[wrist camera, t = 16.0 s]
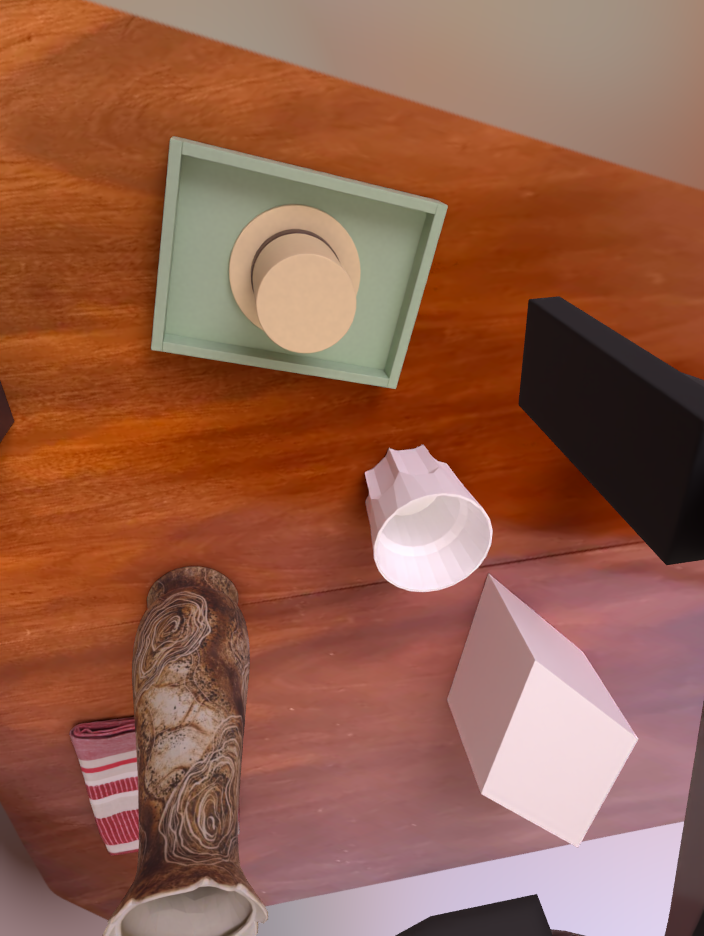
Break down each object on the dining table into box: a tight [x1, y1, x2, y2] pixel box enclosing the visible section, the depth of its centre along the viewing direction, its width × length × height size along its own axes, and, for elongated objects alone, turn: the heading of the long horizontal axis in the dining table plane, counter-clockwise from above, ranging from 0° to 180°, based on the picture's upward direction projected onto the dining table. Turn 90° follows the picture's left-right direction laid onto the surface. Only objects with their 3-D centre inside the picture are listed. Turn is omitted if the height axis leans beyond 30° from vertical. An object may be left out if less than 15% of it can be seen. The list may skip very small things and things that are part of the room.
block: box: [447, 573, 638, 847], centre depth 73 cm, size 18×35×12 cm, turn 17°
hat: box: [229, 204, 361, 353], centre depth 46 cm, size 10×10×9 cm
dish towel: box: [69, 717, 240, 855], centre depth 76 cm, size 17×23×3 cm
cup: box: [365, 445, 493, 592], centre depth 57 cm, size 10×10×10 cm
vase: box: [103, 566, 268, 936], centre depth 52 cm, size 10×11×30 cm
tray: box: [151, 136, 448, 389], centre depth 49 cm, size 20×15×3 cm
